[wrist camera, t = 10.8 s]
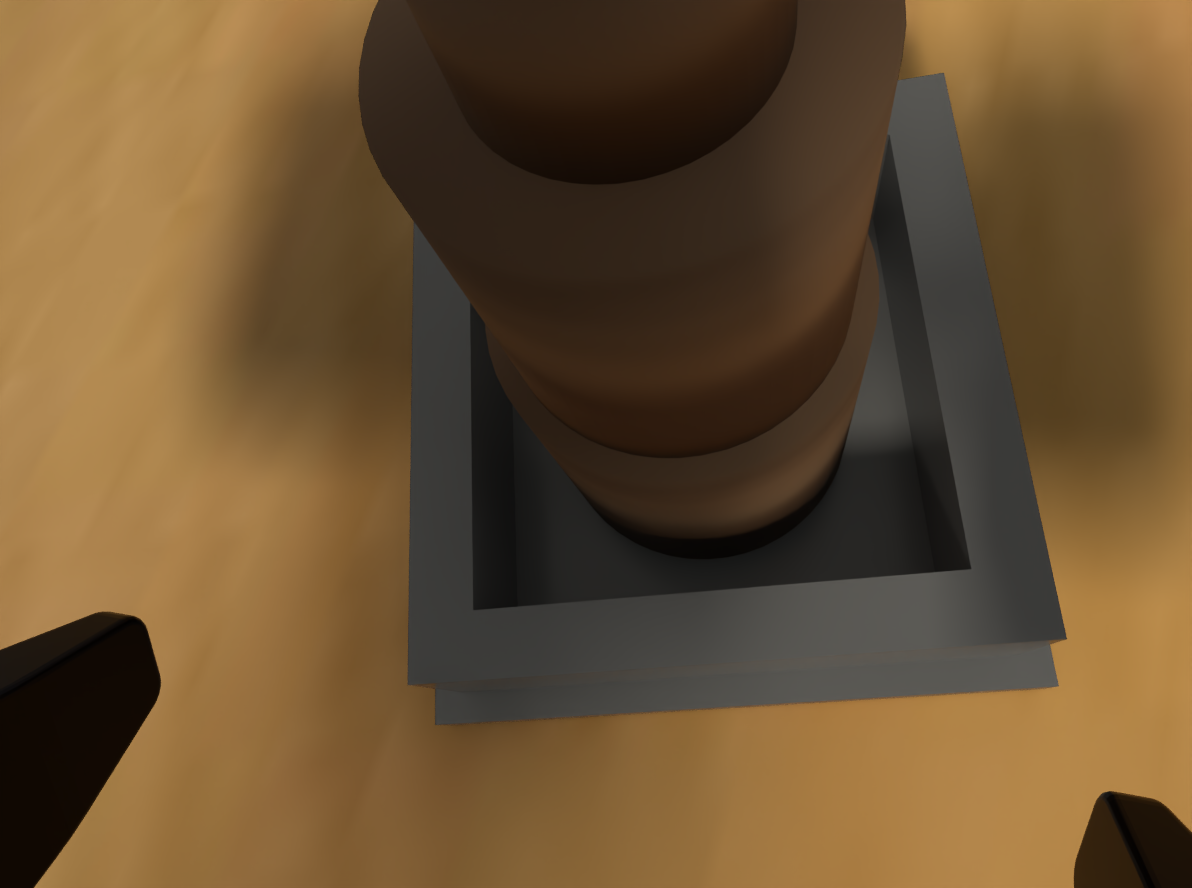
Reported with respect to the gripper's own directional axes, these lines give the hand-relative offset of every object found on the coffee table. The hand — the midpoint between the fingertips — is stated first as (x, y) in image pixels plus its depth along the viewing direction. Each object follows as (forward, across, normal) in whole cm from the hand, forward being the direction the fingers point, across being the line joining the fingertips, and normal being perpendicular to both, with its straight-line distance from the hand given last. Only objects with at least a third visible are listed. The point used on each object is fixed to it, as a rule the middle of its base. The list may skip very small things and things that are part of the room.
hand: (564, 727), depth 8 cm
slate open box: (+9, 0, +1) cm, 9 cm away
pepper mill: (+9, 0, +1) cm, 9 cm away
